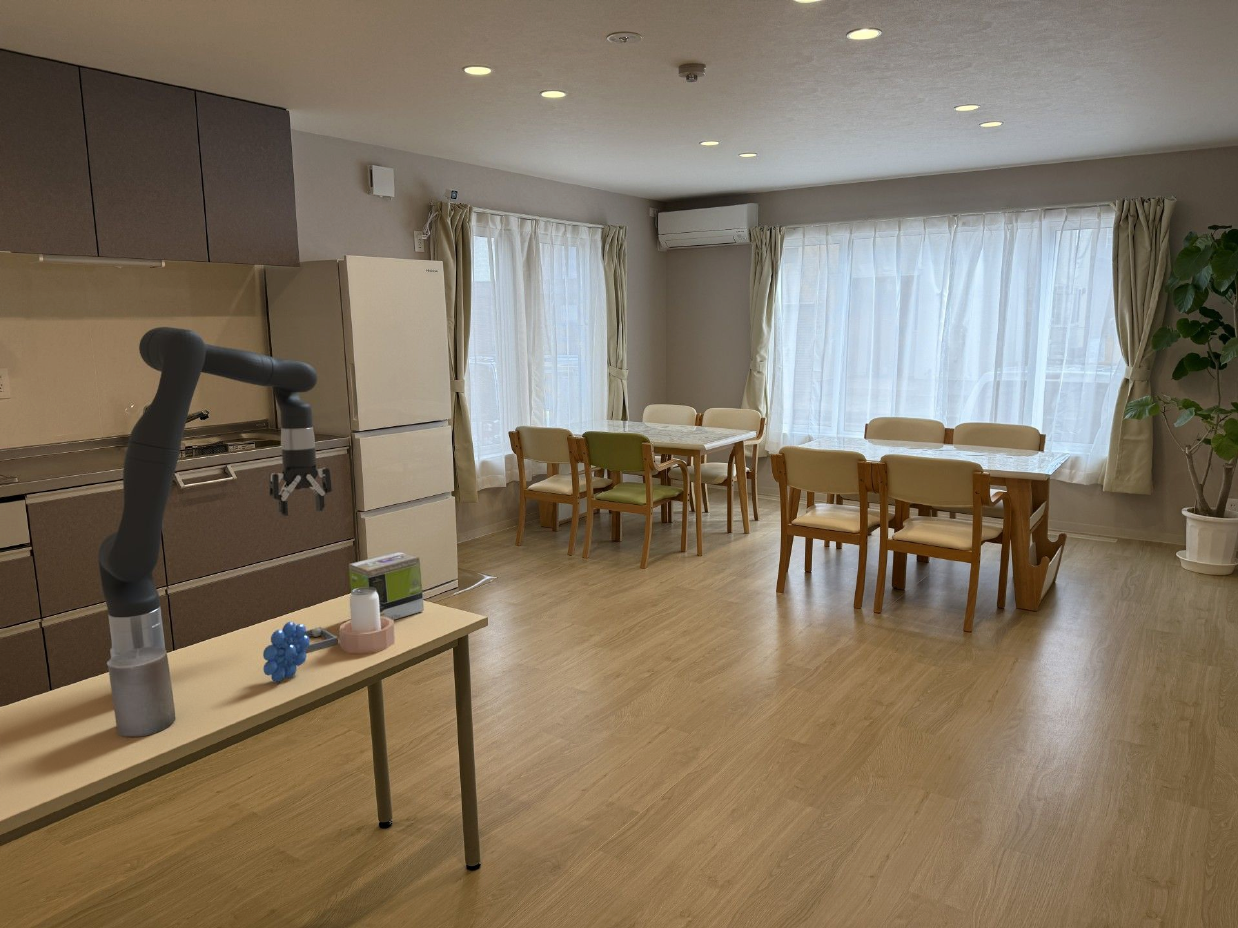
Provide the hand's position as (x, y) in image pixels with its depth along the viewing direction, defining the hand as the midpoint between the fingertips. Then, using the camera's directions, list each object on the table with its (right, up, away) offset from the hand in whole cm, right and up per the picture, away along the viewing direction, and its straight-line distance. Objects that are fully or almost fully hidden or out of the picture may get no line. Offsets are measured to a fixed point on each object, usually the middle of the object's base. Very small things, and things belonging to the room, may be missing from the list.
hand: (302, 513), depth 203 cm
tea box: (+17, -27, +13) cm, 35 cm away
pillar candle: (-12, -37, -45) cm, 60 cm away
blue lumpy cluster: (+6, -34, -24) cm, 42 cm away
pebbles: (+4, -30, -6) cm, 31 cm away
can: (+17, -30, -6) cm, 35 cm away
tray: (+4, -30, -6) cm, 31 cm away
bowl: (+18, -30, -6) cm, 35 cm away
